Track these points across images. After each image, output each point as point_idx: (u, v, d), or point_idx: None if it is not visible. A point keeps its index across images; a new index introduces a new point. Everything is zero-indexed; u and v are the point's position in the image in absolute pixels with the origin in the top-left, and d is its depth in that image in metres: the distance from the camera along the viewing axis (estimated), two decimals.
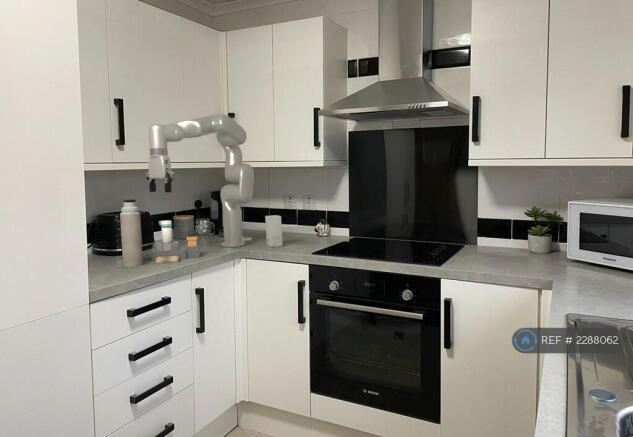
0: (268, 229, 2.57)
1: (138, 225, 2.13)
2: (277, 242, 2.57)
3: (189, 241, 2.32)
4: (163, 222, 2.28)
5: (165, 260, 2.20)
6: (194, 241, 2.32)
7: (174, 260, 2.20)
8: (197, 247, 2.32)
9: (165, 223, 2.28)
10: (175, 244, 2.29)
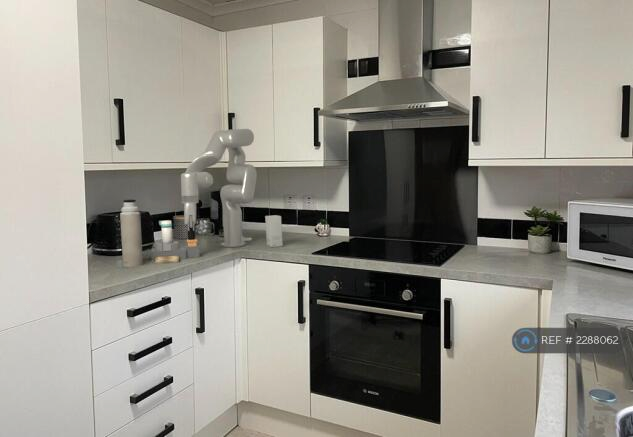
0: (268, 229, 2.57)
1: (138, 225, 2.13)
2: (277, 242, 2.57)
3: (189, 243, 2.32)
4: (163, 222, 2.28)
5: (165, 260, 2.20)
6: (194, 243, 2.32)
7: (174, 260, 2.20)
8: (197, 247, 2.32)
9: (165, 223, 2.28)
10: (175, 244, 2.29)
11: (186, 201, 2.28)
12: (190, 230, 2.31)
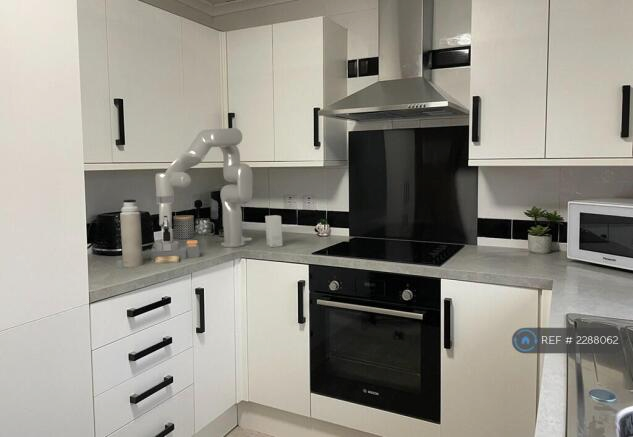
0: (268, 229, 2.57)
1: (138, 225, 2.13)
2: (277, 242, 2.57)
3: (189, 245, 2.32)
4: None
5: (165, 260, 2.20)
6: (194, 245, 2.32)
7: (174, 260, 2.20)
8: (197, 247, 2.32)
9: None
10: (175, 244, 2.29)
11: (161, 202, 2.25)
12: (165, 231, 2.26)
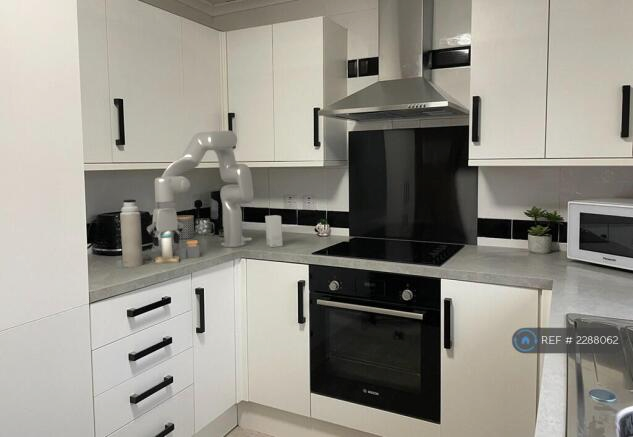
0: (268, 229, 2.57)
1: (138, 225, 2.13)
2: (277, 242, 2.57)
3: (189, 245, 2.32)
4: (160, 232, 2.22)
5: (165, 260, 2.20)
6: (194, 245, 2.32)
7: (174, 260, 2.20)
8: (197, 247, 2.32)
9: None
10: (175, 244, 2.29)
11: None
12: None
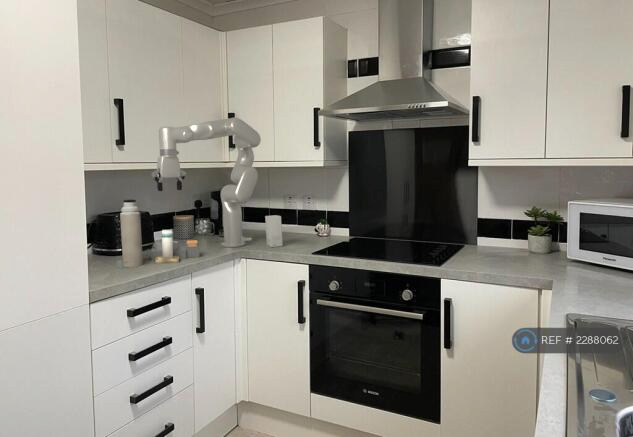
0: (268, 229, 2.57)
1: (138, 225, 2.13)
2: (277, 242, 2.57)
3: (189, 245, 2.32)
4: (162, 231, 2.22)
5: (165, 260, 2.20)
6: (194, 245, 2.32)
7: (174, 260, 2.20)
8: (197, 247, 2.32)
9: (162, 232, 2.21)
10: (175, 244, 2.29)
11: None
12: None
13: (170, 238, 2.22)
